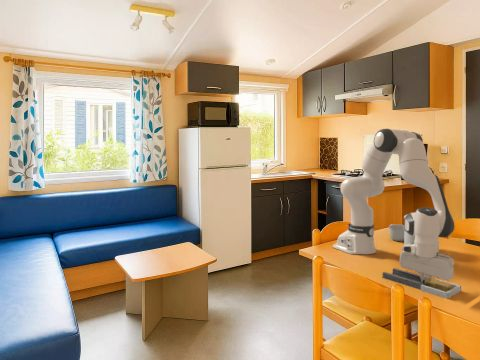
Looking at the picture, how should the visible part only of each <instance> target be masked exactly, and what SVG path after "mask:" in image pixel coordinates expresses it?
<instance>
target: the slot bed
mask: <svg viewBox="0 0 480 360" xmlns="http://www.w3.org/2000/svg"><path fill="white" fill-rule="evenodd" d="M424 277H425V279H426V278H427V277H426V276H425V275H424ZM381 278H382V279H384V280H388V281H391V282H394V283H398V284H401V285H405V286H408V287H410V288H413V289H417V290H419V291H421V285H425V284H424V283H421V278H420V276H419V273H414V272H411V271H407V270H404V269H399V268H398V267H397V268H396V267H394V268H392V273H391V272H387V271H383V272H382V277H381Z"/></svg>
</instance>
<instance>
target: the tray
mask: <svg viewBox="0 0 480 360" xmlns="http://www.w3.org/2000/svg"><path fill="white" fill-rule="evenodd" d="M436 279H437V280H440V281H444V282H447V283H450V284H453V289H451V290H449V291H447V292H445V291H441V290H438V289H435V288H432V287H428V286H425V285H421V290H420V291H421V292H425V293H427V294H430V295H434V296H437V297H441V298H444V299H447V300H449V299H450V298H452V297H453V296H455V295H457V294H459V293H460V292H462V285H459V284H456V283H453V282H449V281H447V280H443V279H440V278H436Z"/></svg>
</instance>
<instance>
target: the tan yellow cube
mask: <svg viewBox="0 0 480 360" xmlns="http://www.w3.org/2000/svg"><path fill="white" fill-rule="evenodd" d="M437 279H438V278H436V277H434V276H431V278H429V279H426V283H425V286H428V287H432V288H435V289H436V287H437V283H439V282H441V281H440V280H441V279H439V280H437Z"/></svg>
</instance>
